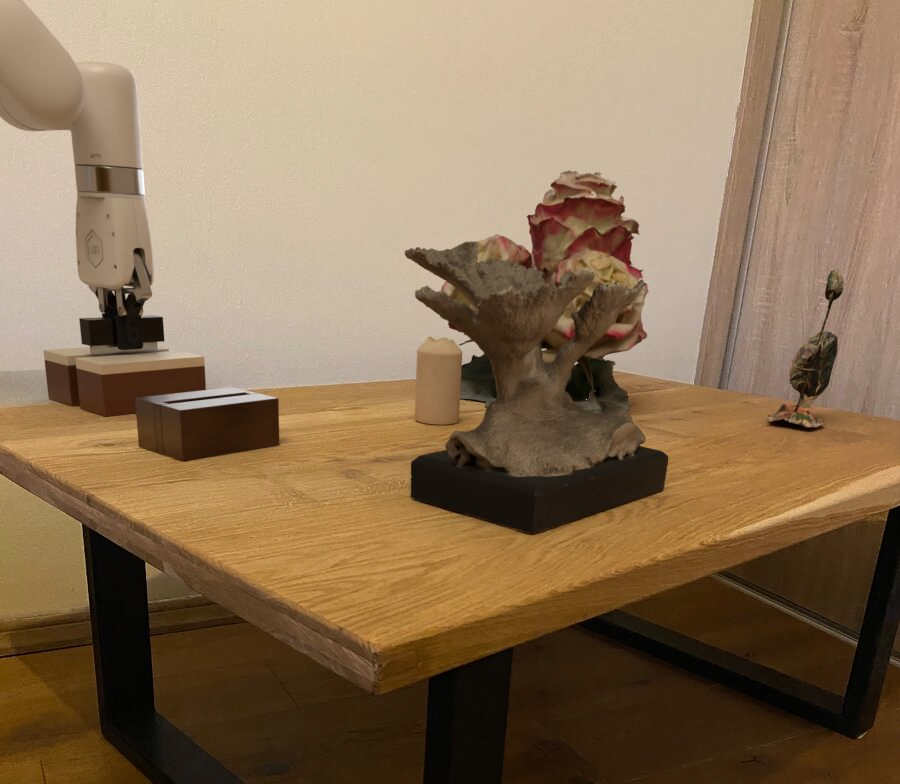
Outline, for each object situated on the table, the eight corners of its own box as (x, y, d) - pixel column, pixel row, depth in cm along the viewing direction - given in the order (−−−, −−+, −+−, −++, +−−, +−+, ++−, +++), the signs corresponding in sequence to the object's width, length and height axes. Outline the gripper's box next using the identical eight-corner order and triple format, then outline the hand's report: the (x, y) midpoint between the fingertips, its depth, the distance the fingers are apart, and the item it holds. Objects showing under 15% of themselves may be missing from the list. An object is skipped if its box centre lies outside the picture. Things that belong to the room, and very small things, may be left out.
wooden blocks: (105, 416, 108) (100, 364, 106) (48, 399, 116) (42, 350, 114) (206, 404, 118) (204, 356, 116) (147, 388, 126) (144, 343, 124)
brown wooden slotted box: (183, 461, 91) (180, 410, 89) (138, 446, 96) (134, 397, 94) (279, 445, 99) (278, 398, 97) (234, 432, 104) (232, 387, 102)
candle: (407, 421, 114) (410, 337, 110) (425, 414, 119) (428, 334, 115) (448, 427, 112) (452, 342, 109) (465, 419, 117) (469, 338, 113)
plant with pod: (842, 423, 127) (875, 270, 120) (808, 433, 120) (840, 269, 112) (786, 414, 132) (814, 265, 125) (750, 422, 125) (777, 265, 117)
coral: (503, 545, 72) (525, 249, 64) (333, 488, 84) (333, 235, 76) (671, 492, 89) (705, 254, 81) (508, 451, 101) (524, 242, 93)
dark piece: (96, 405, 113) (88, 320, 109) (87, 402, 114) (79, 318, 110) (168, 397, 120) (163, 316, 116) (158, 394, 121) (153, 315, 118)
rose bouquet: (414, 394, 132) (422, 162, 121) (564, 383, 149) (583, 178, 138) (532, 429, 114) (555, 159, 102) (688, 412, 130) (723, 178, 119)
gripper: (45, 182, 110) (63, 342, 117) (117, 184, 100) (132, 358, 107) (104, 186, 115) (117, 338, 122) (178, 188, 106) (187, 353, 113)
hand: (124, 346), depth 115 cm, fingers closed on dark piece, 2 cm apart
